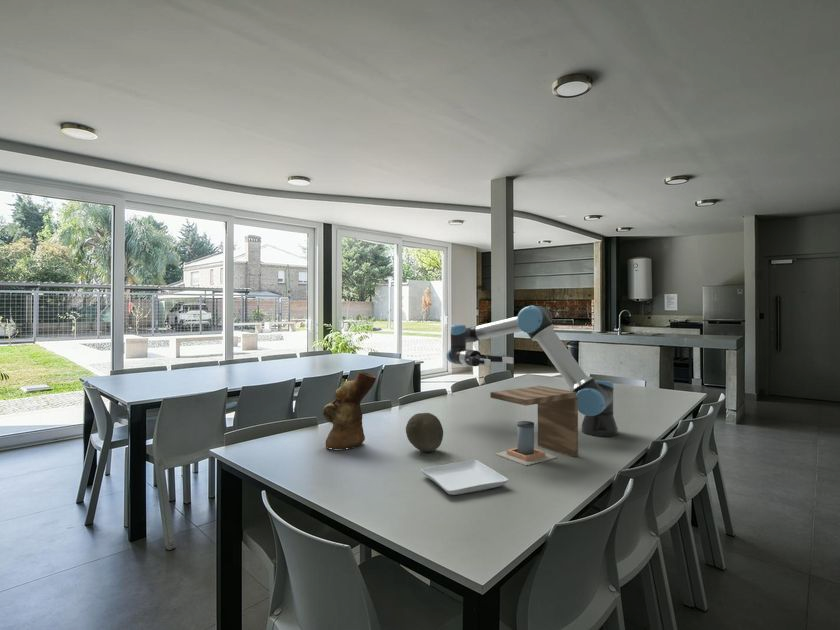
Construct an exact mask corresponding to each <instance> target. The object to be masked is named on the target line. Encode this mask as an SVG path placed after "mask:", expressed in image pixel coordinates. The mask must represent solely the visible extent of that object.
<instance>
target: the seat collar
mask: <svg viewBox="0 0 840 630" xmlns="http://www.w3.org/2000/svg"><path fill="white" fill-rule="evenodd" d="M494 454H495V456H498V457H501V458H504V459H506V460H510V461H511V462H514V463H516V464H519V463H520V465H522V464H523V465H522V466H525V467H528V466H532V465H535V463H536V464H539V462H540V463H543V462H546V461H551V460H554V459H557V458H558V456H556V455H552V454H550V453H547V452H546V451H543V450H540V449H536V448H534V454H530V455H523V454H520V453H517V447H515V448H509V449H506V450H504V451H500V452H497V453H494ZM531 464H532V465H531ZM527 465H528V466H527Z"/></svg>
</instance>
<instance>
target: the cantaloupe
mask: <svg viewBox="0 0 840 630" xmlns="http://www.w3.org/2000/svg"><path fill="white" fill-rule="evenodd" d="M405 434H406V437H407V440H408V441H409V443H410V444H411V446H413V447H414V448H416V449H417V450H418V451H421V452H423V453H424V452H425V453H432V452H433V451H436V450H437V449H438V448H439V447H440V446H441V444H442V442H443V438H444V428H443V425H442V423H441V421H440V419H439V418H438V417H437V416H436V415H434V414H433V413H430V412H419V413H415V414H414V415H412V416H411V417H410V418H409V420H408V421H407V424H406V425H405Z"/></svg>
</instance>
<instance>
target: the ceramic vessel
mask: <svg viewBox="0 0 840 630" xmlns="http://www.w3.org/2000/svg"><path fill="white" fill-rule="evenodd" d="M376 380H377V377H376V376H374V375H372V374H370V373H368V372H365V371H362V370H361V371H360V370H359V371H358V372H357V374H356V376H355V378H354V379H353V380H345V378H342V379H341V380H340V381H341V382H340V386H339V387H338V388H337V389H336V390H335V392H334V394H335V397H334V398H335V399H333V400H332V401H331V402H330V403H328V404H326V405H324V407H323V410H322V416H323V418H324V419H325V421H327V422H328V423H331V424H332V428H331V430H330V431H329V432H328V435H327V437H326V440H325V448H327V447H328V448H332V449H346V448H352V449H354V448H353V447H355V448H357V447H359V446H361V445H362V444H363V443H364V442H365V440H366V436H365V432H364V428H363V427H364V425H363V410H362V408H361V402H362V400H363V399H364V398H365V396H367V394H368V393H369V392H370V390H371V389H372V388H373V387H374V385H375V382H376ZM338 403H339V404H338ZM356 446H357V447H356ZM328 448H327V449H328Z"/></svg>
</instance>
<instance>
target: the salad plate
mask: <svg viewBox="0 0 840 630" xmlns="http://www.w3.org/2000/svg"><path fill="white" fill-rule="evenodd" d="M420 471H421V473H422V474H423V475H424V476H425V477H426V478H428V479H429V480H431V481H432V482H434V483H435V484H437V486H439V487H440V488H441V489H442V490H444V492H445V493H447V494H448V495H451V496H455V495H456V496H457V495H464V494H468V493H469V494H470V493H474V492H479V491H480V492H481V491H485V490H490V489H494V488H498V487H502V486H503V485H505V484H507V483H508V481H509V478H508V477H506V476H504V475H502V474H500V473H499V472H498V471H497V470H496V471H495V470H494V469H492V468H491V467H489V466H487V465H485V464H484V463H482V462H480V461H479V460H477V459H470V460H463V461H457V462H452V463H451V462H450V463H447V464H446V463H444V464H440V465H433V466H429V467H428V466H427V467H423V468H421V469H420Z"/></svg>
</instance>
